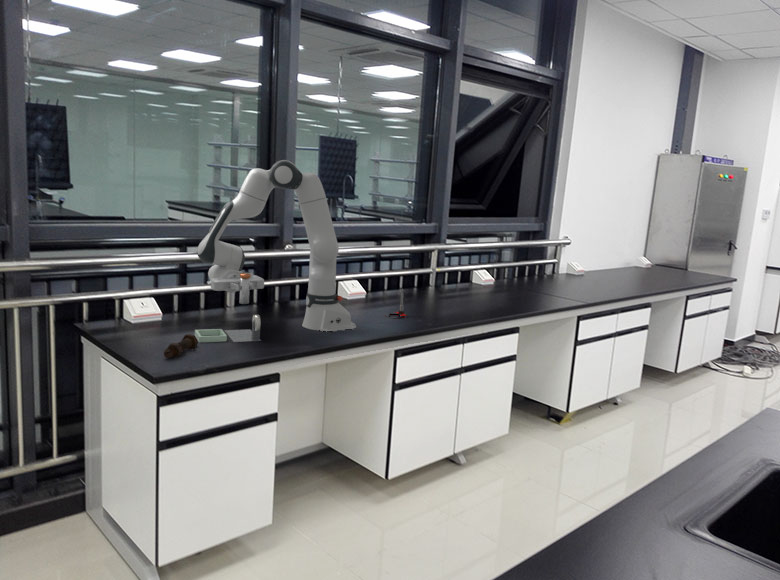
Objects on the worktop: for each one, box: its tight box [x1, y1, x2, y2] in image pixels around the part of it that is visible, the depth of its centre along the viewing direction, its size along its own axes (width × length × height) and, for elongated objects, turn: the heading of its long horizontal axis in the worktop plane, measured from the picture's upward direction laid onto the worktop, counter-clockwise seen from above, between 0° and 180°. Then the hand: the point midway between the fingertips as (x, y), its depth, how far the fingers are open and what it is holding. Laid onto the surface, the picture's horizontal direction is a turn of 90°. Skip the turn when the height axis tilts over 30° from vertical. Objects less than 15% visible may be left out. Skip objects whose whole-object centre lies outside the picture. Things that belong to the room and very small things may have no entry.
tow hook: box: [395, 288, 408, 316], centre depth 289 cm, size 8×13×9 cm
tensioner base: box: [223, 314, 262, 343], centre depth 233 cm, size 10×16×10 cm, turn 26°
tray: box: [194, 328, 228, 344], centre depth 226 cm, size 10×10×3 cm
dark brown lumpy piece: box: [163, 333, 199, 359], centre depth 209 cm, size 6×5×15 cm
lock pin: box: [239, 273, 251, 305], centre depth 233 cm, size 4×4×11 cm
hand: (245, 287), depth 232 cm, fingers closed on lock pin, 3 cm apart
